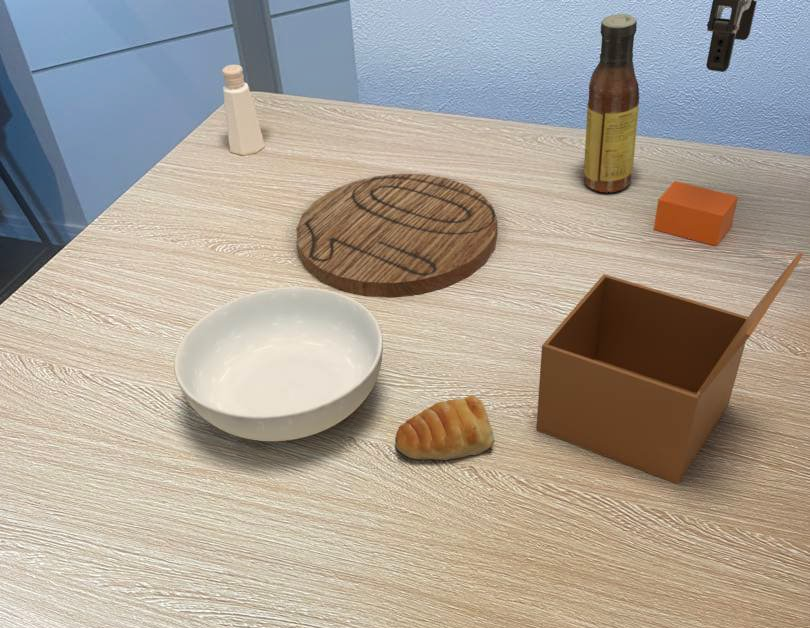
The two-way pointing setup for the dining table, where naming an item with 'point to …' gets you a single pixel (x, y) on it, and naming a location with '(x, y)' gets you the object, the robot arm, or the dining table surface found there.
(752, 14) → the robot arm
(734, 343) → the flap
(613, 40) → the sauce bottle
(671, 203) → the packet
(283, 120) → the dining table surface
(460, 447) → the pastry
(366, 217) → the trivet
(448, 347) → the dining table surface
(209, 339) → the serving bowl
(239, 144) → the pepper shaker
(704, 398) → the carton
